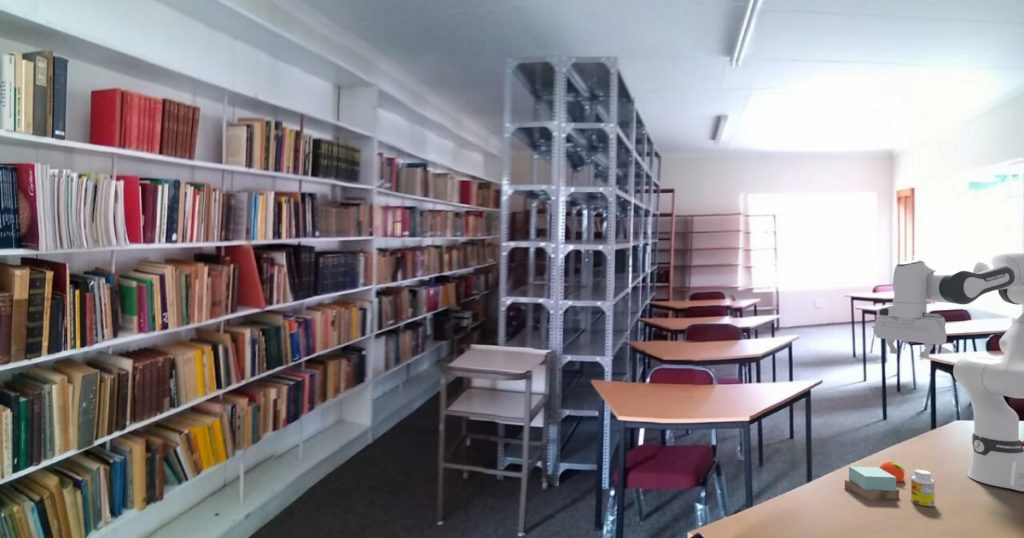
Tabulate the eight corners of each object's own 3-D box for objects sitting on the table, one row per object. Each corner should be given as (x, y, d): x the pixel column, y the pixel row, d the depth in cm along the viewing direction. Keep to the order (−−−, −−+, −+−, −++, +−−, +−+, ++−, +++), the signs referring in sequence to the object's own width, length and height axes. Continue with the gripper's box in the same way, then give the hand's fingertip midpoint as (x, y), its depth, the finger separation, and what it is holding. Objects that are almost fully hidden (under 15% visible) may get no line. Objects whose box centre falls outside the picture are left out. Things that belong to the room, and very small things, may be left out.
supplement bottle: (908, 501, 171) (909, 467, 171) (930, 504, 169) (931, 469, 169) (914, 508, 166) (914, 473, 166) (937, 511, 164) (937, 476, 164)
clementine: (912, 486, 183) (912, 464, 184) (899, 490, 180) (899, 467, 180) (886, 478, 191) (887, 457, 191) (874, 481, 188) (874, 460, 188)
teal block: (878, 480, 179) (878, 467, 179) (896, 490, 170) (896, 477, 170) (848, 478, 180) (849, 466, 180) (865, 489, 171) (865, 476, 171)
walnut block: (871, 490, 181) (871, 477, 181) (899, 502, 171) (899, 489, 171) (844, 492, 179) (844, 479, 179) (871, 505, 169) (871, 491, 169)
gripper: (951, 314, 171) (951, 360, 171) (884, 309, 190) (884, 351, 190) (938, 314, 168) (937, 360, 168) (871, 309, 187) (871, 351, 187)
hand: (908, 355), depth 179 cm, fingers open, 8 cm apart
